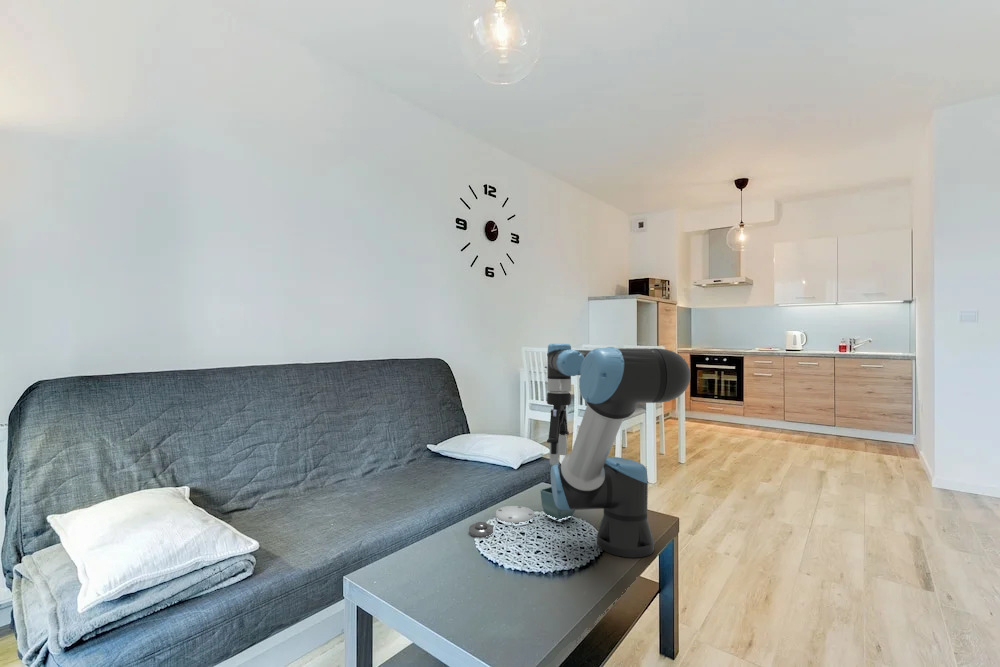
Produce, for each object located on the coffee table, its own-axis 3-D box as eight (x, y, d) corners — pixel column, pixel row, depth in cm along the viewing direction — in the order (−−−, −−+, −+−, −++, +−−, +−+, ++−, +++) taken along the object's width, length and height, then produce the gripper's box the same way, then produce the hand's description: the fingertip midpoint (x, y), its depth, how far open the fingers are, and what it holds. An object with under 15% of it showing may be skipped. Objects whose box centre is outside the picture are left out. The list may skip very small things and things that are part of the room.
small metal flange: (496, 530, 135) (496, 521, 135) (488, 539, 128) (488, 530, 128) (474, 526, 137) (474, 518, 137) (465, 535, 131) (465, 526, 131)
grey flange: (538, 514, 148) (538, 508, 148) (528, 528, 136) (528, 521, 136) (502, 510, 152) (503, 503, 152) (490, 523, 140) (490, 516, 140)
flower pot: (558, 512, 151) (558, 484, 151) (578, 520, 144) (579, 491, 144) (539, 518, 145) (539, 489, 145) (559, 526, 138) (559, 496, 139)
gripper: (554, 388, 159) (554, 450, 158) (538, 395, 135) (537, 467, 134) (576, 389, 156) (575, 452, 156) (563, 396, 133) (563, 470, 132)
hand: (558, 459), depth 145 cm, fingers open, 13 cm apart
